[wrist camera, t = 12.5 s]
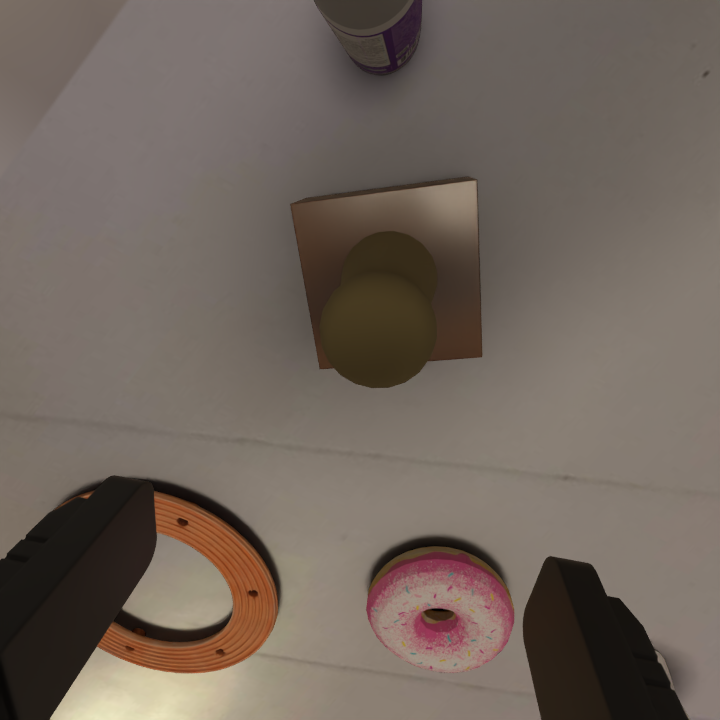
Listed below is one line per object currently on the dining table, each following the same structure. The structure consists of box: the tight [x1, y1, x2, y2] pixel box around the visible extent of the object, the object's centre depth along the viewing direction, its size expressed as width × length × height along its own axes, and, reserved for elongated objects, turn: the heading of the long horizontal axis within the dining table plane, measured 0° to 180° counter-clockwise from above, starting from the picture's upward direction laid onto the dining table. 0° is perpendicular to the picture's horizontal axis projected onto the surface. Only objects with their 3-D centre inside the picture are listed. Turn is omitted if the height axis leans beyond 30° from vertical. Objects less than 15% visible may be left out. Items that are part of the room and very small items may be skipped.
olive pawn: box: [319, 231, 437, 388], centre depth 24 cm, size 6×6×11 cm
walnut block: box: [290, 177, 482, 369], centre depth 31 cm, size 11×11×4 cm
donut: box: [366, 546, 514, 673], centre depth 43 cm, size 14×13×5 cm
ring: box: [56, 491, 278, 673], centre depth 48 cm, size 25×25×2 cm
